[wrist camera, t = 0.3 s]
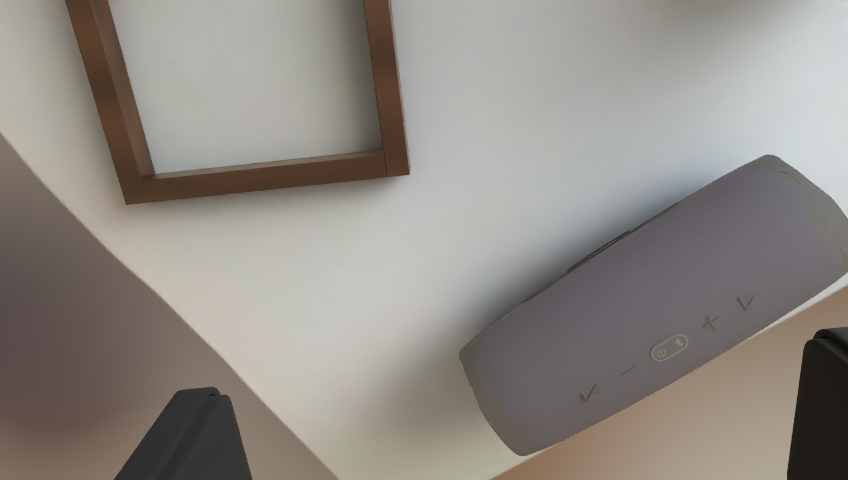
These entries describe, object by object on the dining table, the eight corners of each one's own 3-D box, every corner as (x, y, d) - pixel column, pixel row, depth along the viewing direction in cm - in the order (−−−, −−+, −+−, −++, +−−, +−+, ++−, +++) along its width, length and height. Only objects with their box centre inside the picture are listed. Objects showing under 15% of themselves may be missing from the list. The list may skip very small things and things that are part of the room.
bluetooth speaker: (519, 400, 44) (544, 496, 35) (451, 315, 42) (458, 394, 33) (785, 239, 40) (897, 300, 30) (726, 134, 37) (827, 165, 28)
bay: (66, -59, 34) (45, -65, 32) (379, -98, 33) (376, -106, 31) (140, 197, 39) (125, 205, 37) (410, 168, 38) (409, 174, 36)
